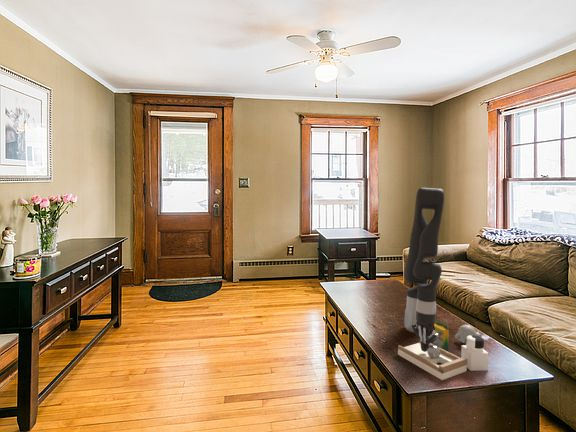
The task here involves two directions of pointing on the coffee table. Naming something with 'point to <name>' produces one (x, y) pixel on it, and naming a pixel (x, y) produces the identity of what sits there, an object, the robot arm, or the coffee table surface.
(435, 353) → the ball
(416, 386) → the coffee table surface
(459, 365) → the cream shallow tray
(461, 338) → the chubby cartoon animal
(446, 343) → the crayon box
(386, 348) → the coffee table surface
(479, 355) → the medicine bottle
